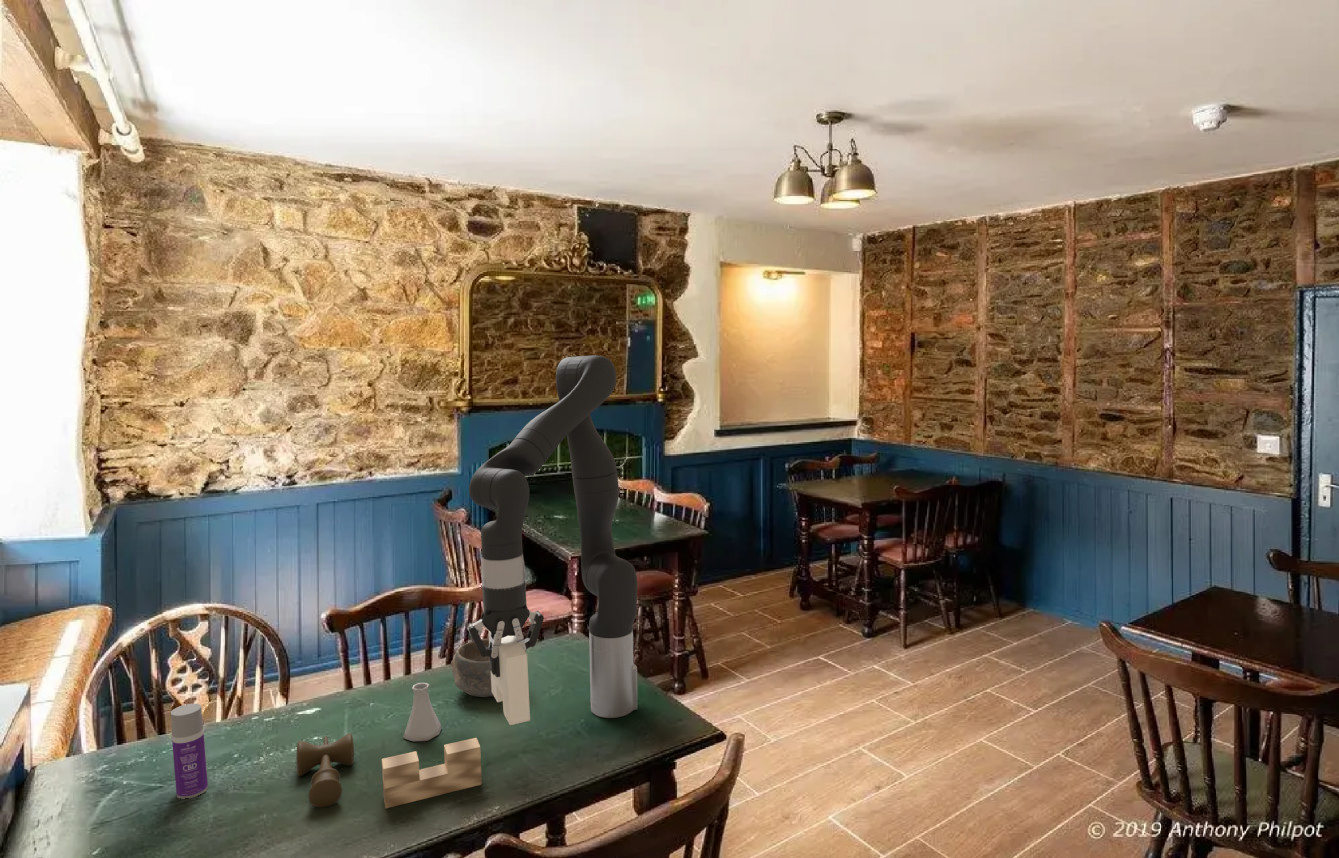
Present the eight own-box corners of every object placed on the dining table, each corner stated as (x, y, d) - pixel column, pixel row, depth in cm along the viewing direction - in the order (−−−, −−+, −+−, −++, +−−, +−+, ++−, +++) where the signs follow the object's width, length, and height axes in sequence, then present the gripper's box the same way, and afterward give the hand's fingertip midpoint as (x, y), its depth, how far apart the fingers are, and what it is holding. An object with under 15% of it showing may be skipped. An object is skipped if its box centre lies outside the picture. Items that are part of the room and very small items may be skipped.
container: (184, 802, 128) (178, 718, 127) (171, 793, 131) (164, 711, 129) (213, 788, 132) (207, 707, 131) (199, 780, 135) (193, 700, 133)
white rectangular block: (491, 691, 141) (488, 630, 140) (510, 687, 142) (507, 626, 141) (510, 725, 128) (506, 658, 127) (530, 720, 130) (527, 653, 129)
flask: (430, 744, 146) (427, 695, 145) (396, 741, 148) (394, 692, 147) (448, 726, 154) (446, 679, 152) (415, 723, 155) (413, 676, 154)
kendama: (293, 818, 124) (298, 756, 143) (356, 805, 128) (353, 746, 146) (292, 784, 124) (297, 726, 142) (356, 772, 128) (352, 717, 146)
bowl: (467, 676, 177) (466, 635, 176) (530, 679, 175) (529, 638, 174) (441, 704, 163) (440, 659, 162) (510, 708, 161) (508, 663, 160)
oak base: (477, 774, 136) (476, 737, 135) (481, 784, 133) (480, 746, 132) (383, 797, 129) (381, 758, 128) (385, 808, 126) (383, 768, 125)
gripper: (536, 568, 139) (540, 657, 141) (458, 580, 133) (464, 673, 135) (548, 579, 132) (552, 672, 134) (467, 592, 126) (472, 690, 128)
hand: (508, 672), depth 135 cm, fingers closed on white rectangular block, 3 cm apart
